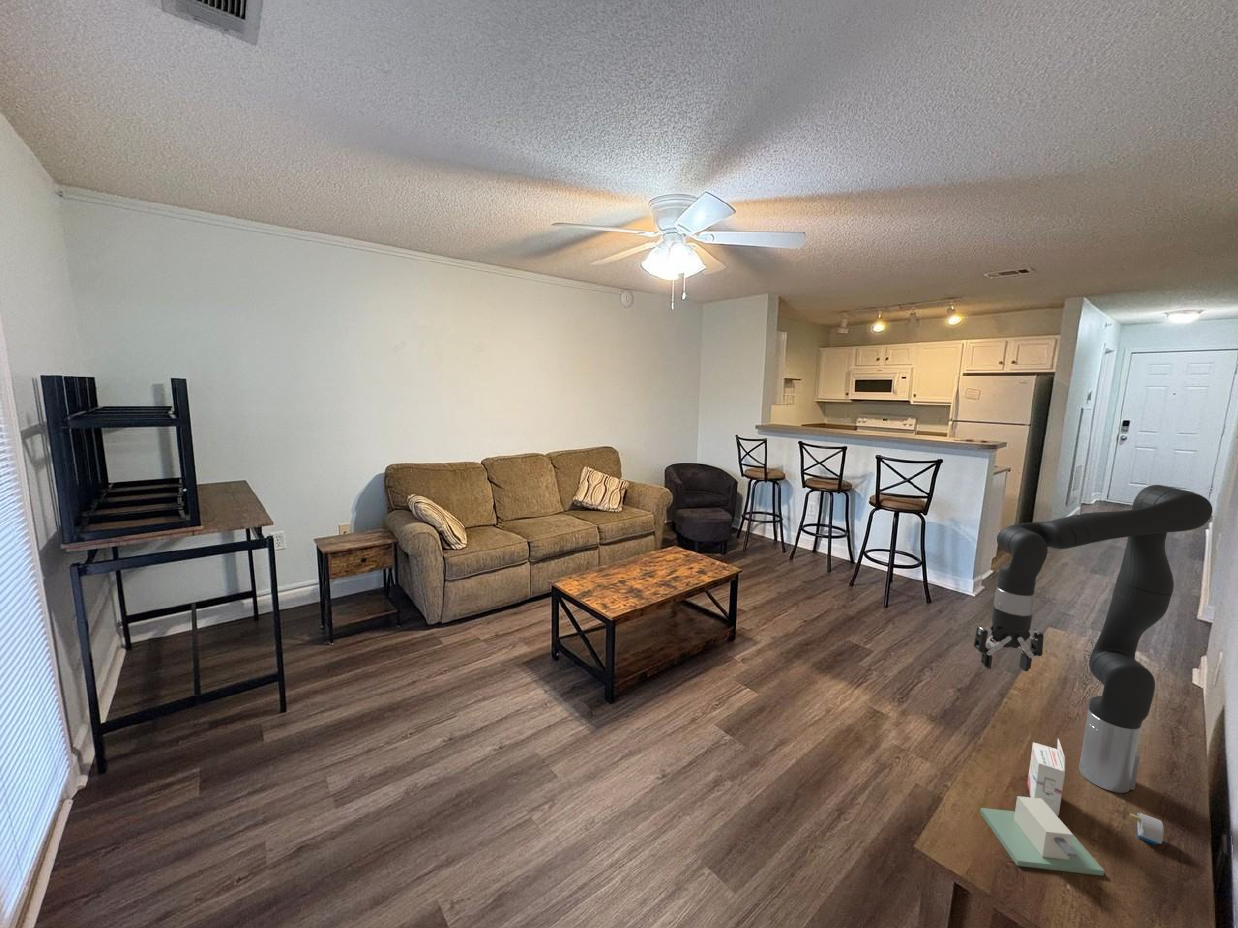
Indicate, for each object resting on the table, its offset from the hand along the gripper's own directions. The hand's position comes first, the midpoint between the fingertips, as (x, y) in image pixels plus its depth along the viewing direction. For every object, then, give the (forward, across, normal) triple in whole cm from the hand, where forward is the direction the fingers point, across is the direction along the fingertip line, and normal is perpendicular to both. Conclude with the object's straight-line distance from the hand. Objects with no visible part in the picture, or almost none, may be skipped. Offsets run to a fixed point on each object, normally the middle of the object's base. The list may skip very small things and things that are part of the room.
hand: (1004, 668), depth 123 cm
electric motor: (+28, -21, +17) cm, 39 cm away
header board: (+28, +3, +22) cm, 36 cm away
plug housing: (+27, +3, +24) cm, 36 cm away
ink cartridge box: (+28, -6, +9) cm, 30 cm away
